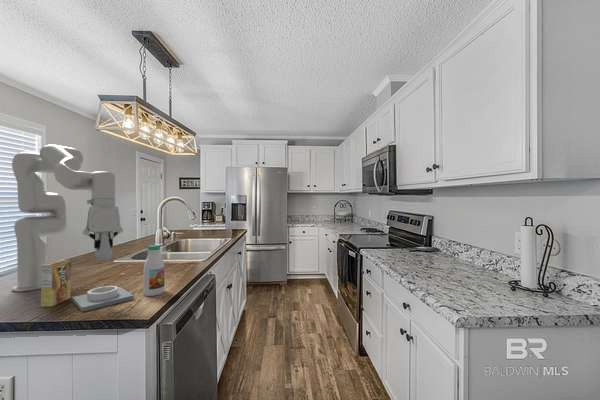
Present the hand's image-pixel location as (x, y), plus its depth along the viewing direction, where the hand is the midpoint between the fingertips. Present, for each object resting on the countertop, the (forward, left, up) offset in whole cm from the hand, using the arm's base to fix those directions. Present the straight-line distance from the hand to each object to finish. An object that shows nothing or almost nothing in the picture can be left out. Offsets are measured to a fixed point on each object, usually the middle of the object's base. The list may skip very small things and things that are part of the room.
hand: (103, 249), depth 106 cm
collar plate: (+2, -1, -20) cm, 20 cm away
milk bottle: (+9, +15, -20) cm, 26 cm away
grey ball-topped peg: (0, 0, -4) cm, 4 cm away
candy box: (-9, -13, -20) cm, 25 cm away
